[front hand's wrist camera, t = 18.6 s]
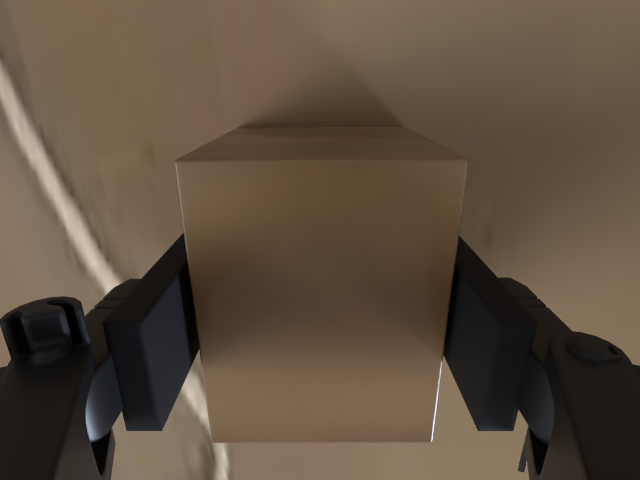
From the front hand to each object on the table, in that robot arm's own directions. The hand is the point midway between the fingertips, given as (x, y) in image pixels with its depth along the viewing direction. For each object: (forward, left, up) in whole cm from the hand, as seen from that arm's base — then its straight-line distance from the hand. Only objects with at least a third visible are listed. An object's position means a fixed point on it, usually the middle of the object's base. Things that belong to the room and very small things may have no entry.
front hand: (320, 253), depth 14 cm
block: (0, 0, -3) cm, 3 cm away
